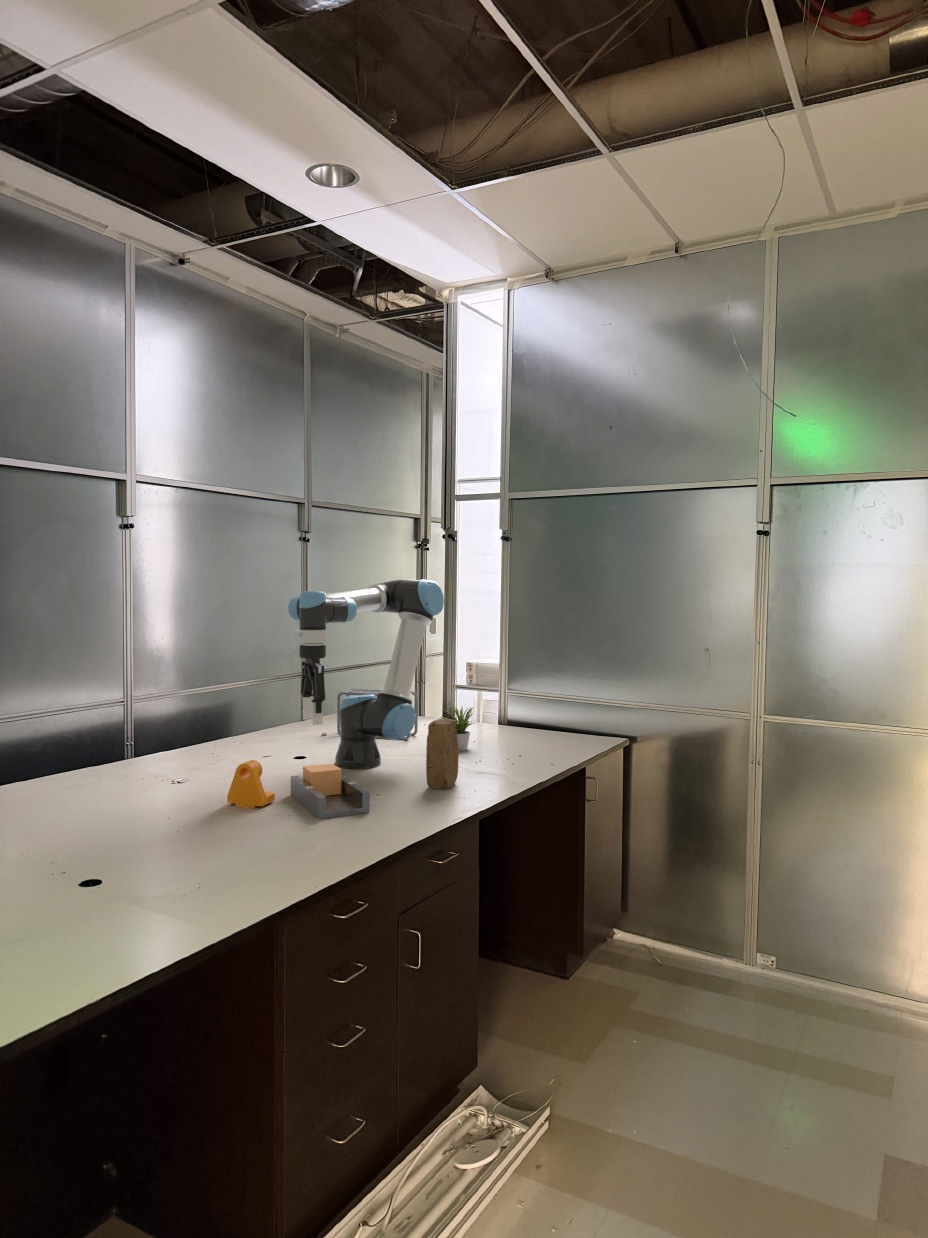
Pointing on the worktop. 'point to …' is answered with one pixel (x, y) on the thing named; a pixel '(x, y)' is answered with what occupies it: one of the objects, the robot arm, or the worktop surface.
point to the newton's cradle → (347, 693)
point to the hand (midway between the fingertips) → (312, 721)
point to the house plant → (462, 727)
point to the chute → (331, 798)
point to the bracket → (249, 787)
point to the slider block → (323, 778)
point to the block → (442, 754)
